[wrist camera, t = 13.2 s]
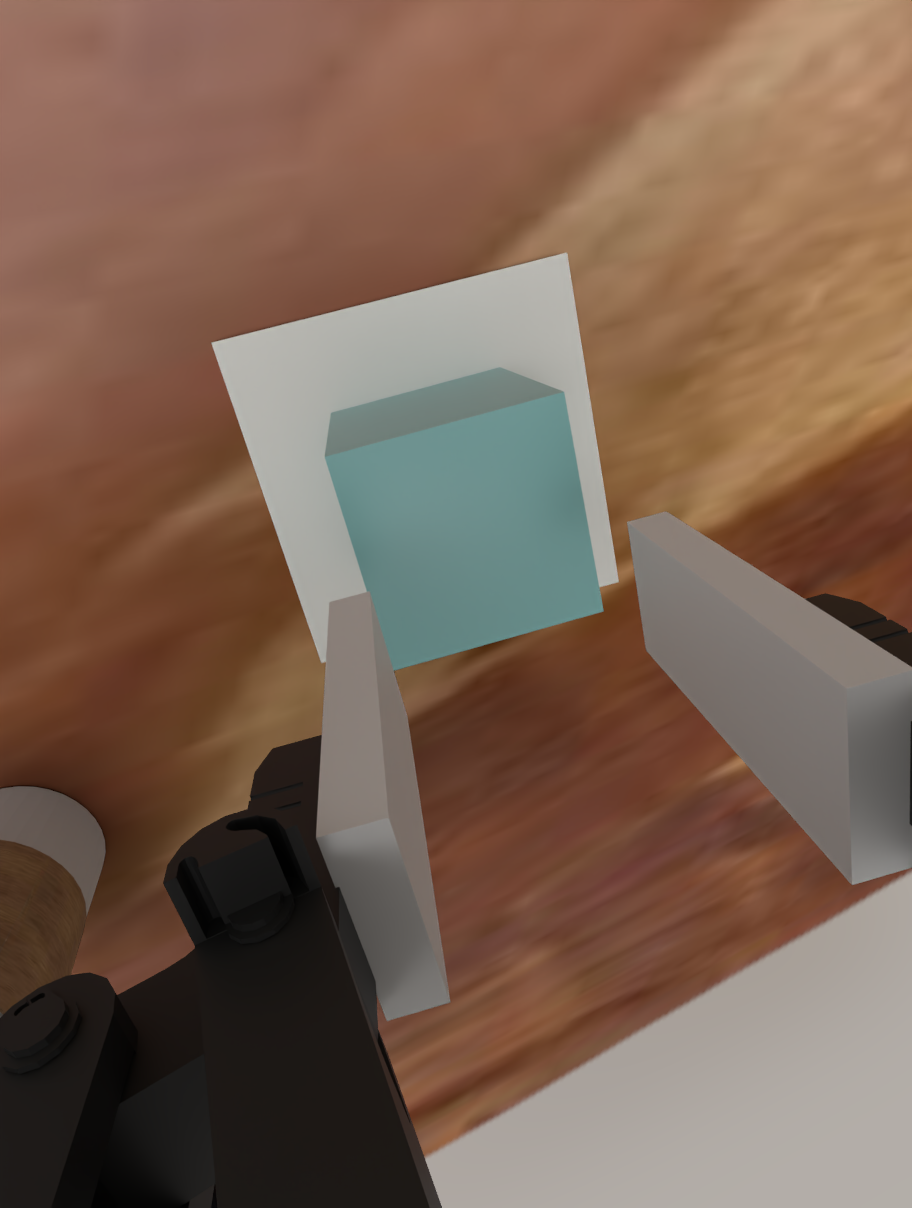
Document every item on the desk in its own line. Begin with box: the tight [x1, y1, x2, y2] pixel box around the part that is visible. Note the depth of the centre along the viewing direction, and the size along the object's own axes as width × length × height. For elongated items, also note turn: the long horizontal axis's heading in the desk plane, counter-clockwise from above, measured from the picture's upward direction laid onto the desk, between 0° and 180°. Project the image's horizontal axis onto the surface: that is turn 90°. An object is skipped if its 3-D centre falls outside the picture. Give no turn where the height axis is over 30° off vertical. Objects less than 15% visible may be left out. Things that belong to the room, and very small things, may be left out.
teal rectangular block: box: [325, 367, 603, 670], centre depth 23 cm, size 6×6×8 cm
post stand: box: [212, 253, 619, 663], centre depth 24 cm, size 12×12×8 cm
